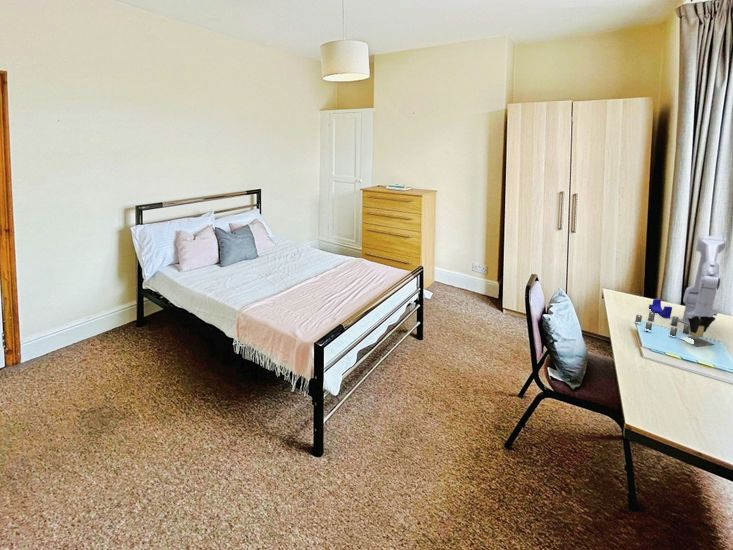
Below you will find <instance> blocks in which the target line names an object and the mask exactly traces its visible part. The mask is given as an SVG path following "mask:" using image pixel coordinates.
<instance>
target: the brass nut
mask: <svg viewBox="0 0 733 550" xmlns="http://www.w3.org/2000/svg"><path fill="white" fill-rule="evenodd" d="M704 328H705V325H704V324H701V323H700V325H699V327H698V330H697V332H696V333H693V332H691V331H689V336H694V337H699V338H703V337H704V333H705V332H704Z"/></svg>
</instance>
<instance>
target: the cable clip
mask: <svg viewBox="0 0 733 550" xmlns="http://www.w3.org/2000/svg"><path fill="white" fill-rule="evenodd" d="M648 308H649V309H651V311H652V312H654V313H658V314H659V315H658V314H657V315H658V316H659V317H661V318H663V319H671V315H672V311H673V307H672V306H670V305H669V306H663V308H662V300H661V299H658V298H657V299H656V298H655V299H654V298H653V300H652V303H651V304H650V303H649V304H648ZM651 311H650V312H651Z"/></svg>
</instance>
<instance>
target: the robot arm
mask: <svg viewBox="0 0 733 550" xmlns="http://www.w3.org/2000/svg"><path fill="white" fill-rule="evenodd" d="M726 245H727V238H726V236H717V235H716V236H713V235H704V234H700V235H698V238H697V241H696V247H695V250H696V251H697V252H699V254H700V258H699V262H698V266H697V271H696V276H695V279H694V280H695V281H694V284H693V285H690V286H688V287H686V289H685V291H684V295H683V299H682V300H683V303H684V304H685V307H684V311H683V315H682V318H679V319H678V322H681V323H684V324H689V325H690V331H691V332H693V333H696V332H697V330H698V327H699V325H700V323H701V324H704V325H705V328H704V333H706V331H708V328H709V327H710V325H711V324H712V323H713V322H714V321H716V316H718V313H719V311H717V310H713V305H714V302H715V298H716V294H717V291H718V290H719V289H720V287H721V275H720V265H719V263H717V259H718V255H719V254H721V252H722V251H724V250H725V249H726V247H727V246H726ZM690 331H689V332H690Z"/></svg>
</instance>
